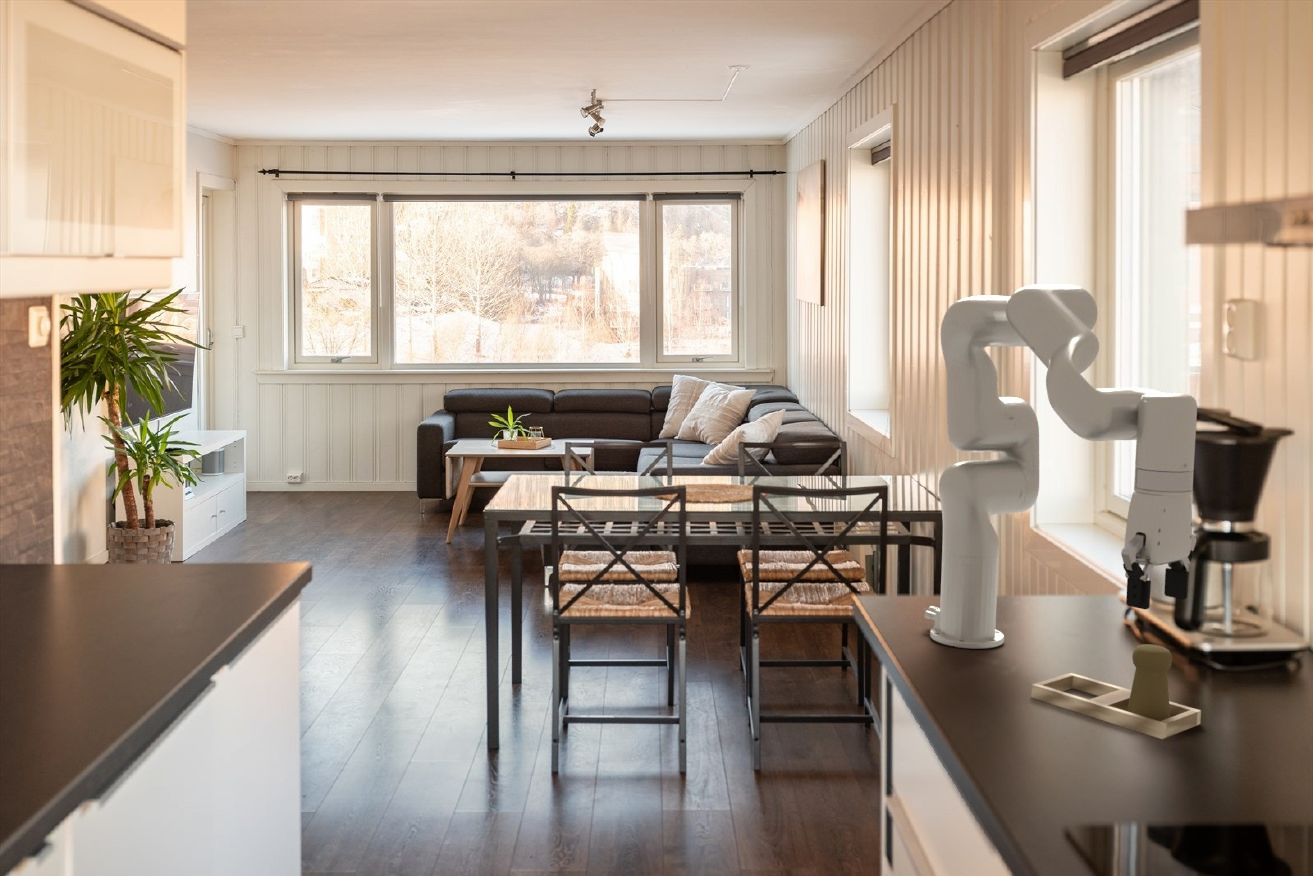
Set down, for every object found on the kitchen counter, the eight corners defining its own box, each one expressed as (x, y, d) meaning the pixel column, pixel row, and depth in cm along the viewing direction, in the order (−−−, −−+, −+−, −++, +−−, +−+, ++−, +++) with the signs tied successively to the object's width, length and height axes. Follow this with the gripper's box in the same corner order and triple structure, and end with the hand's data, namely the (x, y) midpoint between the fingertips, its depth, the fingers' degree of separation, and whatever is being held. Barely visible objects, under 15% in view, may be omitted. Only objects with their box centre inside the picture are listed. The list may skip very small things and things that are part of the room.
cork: (1175, 730, 168) (1180, 654, 166) (1129, 727, 169) (1134, 651, 168) (1166, 716, 174) (1170, 641, 172) (1121, 712, 175) (1126, 639, 173)
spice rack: (1031, 697, 181) (1031, 684, 181) (1070, 685, 187) (1071, 672, 187) (1161, 739, 164) (1162, 725, 164) (1200, 724, 170) (1201, 710, 170)
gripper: (1171, 473, 175) (1165, 589, 177) (1103, 483, 165) (1097, 605, 167) (1221, 480, 169) (1214, 599, 171) (1154, 490, 159) (1147, 617, 161)
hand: (1156, 602), depth 169 cm, fingers open, 9 cm apart
